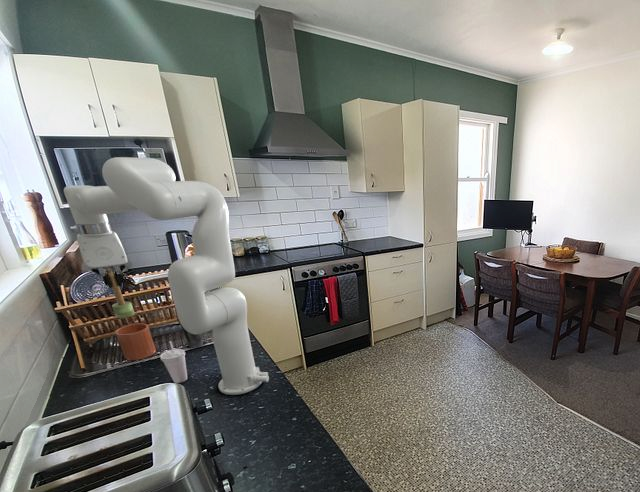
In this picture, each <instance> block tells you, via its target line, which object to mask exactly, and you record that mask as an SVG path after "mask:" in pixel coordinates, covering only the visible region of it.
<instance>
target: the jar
mask: <svg viewBox="0 0 640 492" xmlns="http://www.w3.org/2000/svg"><path fill="white" fill-rule="evenodd" d="M114 334H115V337H116V339H117V342H118V344H119V347H120V350H121V354H122V355H123V358H124V360H127V361H139V360H143V359H147V358H149V357H151V356H153V355H154V354H156V352H157V349H156V345H155V342H154V338H153V336H152V333H151V330H150V327H149V325H148V324H147V323H141V322H140V323H132V324H128V325H127V324H126V325H124V326H121V327H119V328H117V329H116V330H115V331H114Z"/></svg>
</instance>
